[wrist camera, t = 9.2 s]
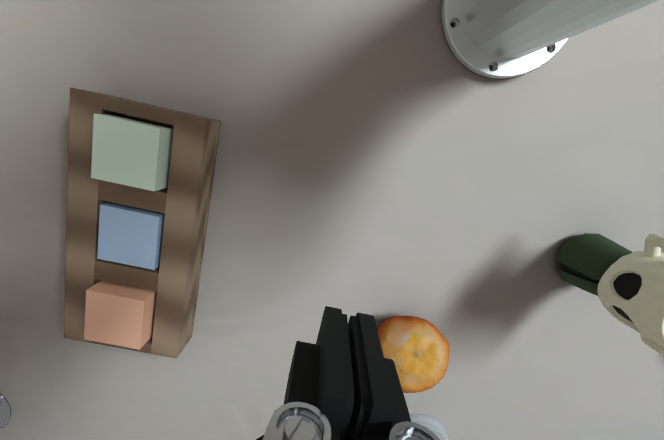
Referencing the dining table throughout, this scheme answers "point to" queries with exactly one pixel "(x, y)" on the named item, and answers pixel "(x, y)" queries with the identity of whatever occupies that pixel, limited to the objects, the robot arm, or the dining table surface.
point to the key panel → (174, 201)
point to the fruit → (414, 351)
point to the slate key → (130, 235)
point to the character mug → (621, 280)
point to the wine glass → (4, 411)
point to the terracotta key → (119, 314)
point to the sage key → (131, 152)
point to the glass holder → (430, 425)
